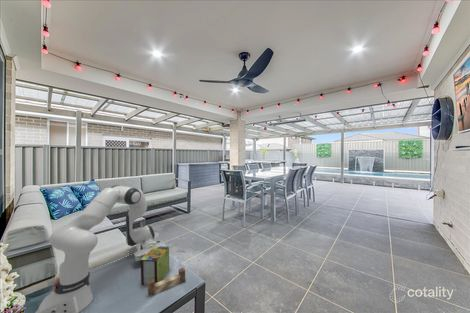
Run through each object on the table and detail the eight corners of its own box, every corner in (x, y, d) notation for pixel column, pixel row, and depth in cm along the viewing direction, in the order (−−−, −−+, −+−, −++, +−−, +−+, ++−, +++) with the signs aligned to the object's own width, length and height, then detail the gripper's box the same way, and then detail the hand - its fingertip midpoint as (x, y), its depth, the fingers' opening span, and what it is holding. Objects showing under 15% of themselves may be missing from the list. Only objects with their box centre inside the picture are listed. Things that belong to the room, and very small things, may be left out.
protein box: (169, 269, 119) (169, 246, 119) (157, 286, 104) (157, 260, 103) (154, 268, 120) (154, 245, 120) (140, 285, 105) (140, 259, 104)
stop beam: (148, 296, 97) (148, 284, 96) (147, 291, 100) (147, 279, 100) (185, 281, 108) (185, 270, 108) (183, 277, 111) (182, 266, 111)
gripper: (133, 248, 126) (135, 258, 114) (164, 240, 137) (168, 248, 125) (133, 257, 126) (135, 267, 114) (164, 248, 137) (168, 257, 126)
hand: (153, 257), depth 120 cm, fingers closed
